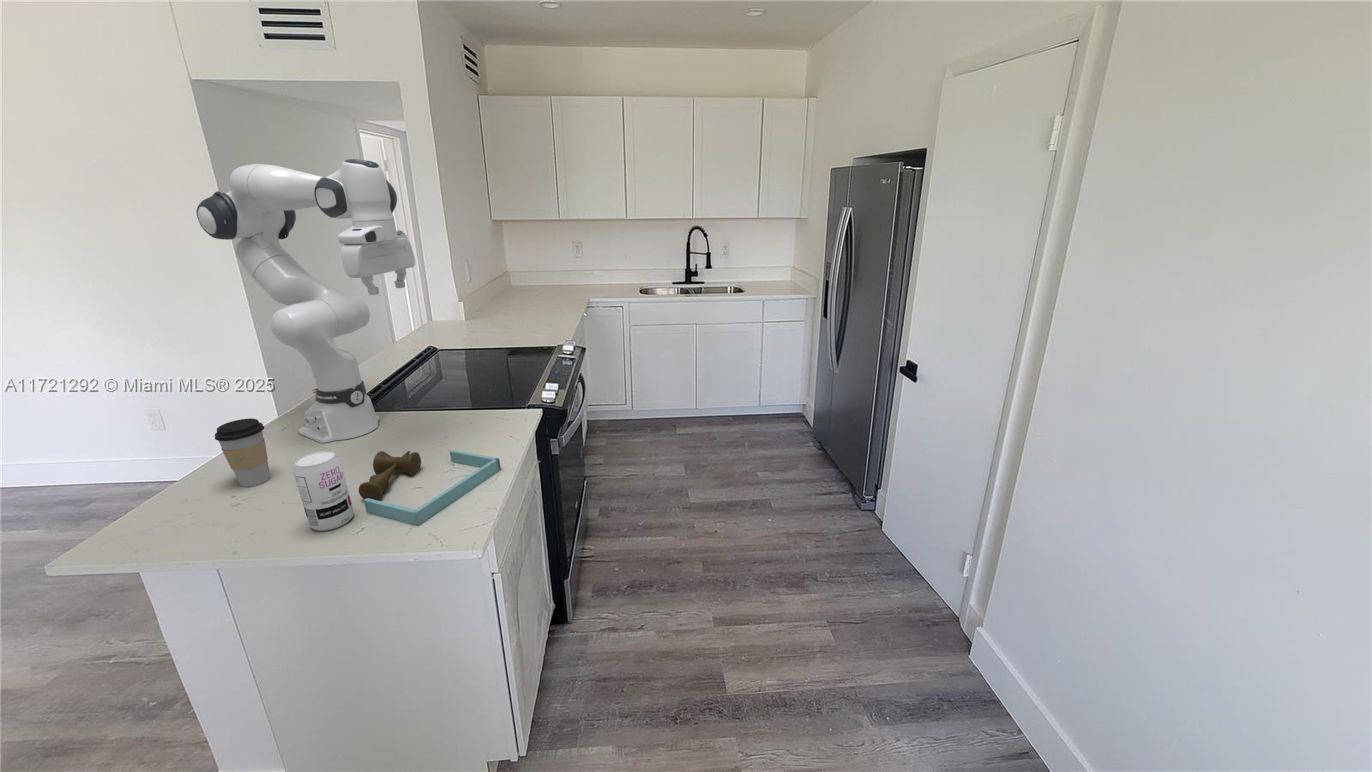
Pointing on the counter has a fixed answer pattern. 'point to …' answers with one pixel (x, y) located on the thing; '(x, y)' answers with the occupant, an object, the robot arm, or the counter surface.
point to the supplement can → (323, 490)
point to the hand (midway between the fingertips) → (387, 291)
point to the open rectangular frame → (444, 499)
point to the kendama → (388, 472)
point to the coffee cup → (245, 450)
